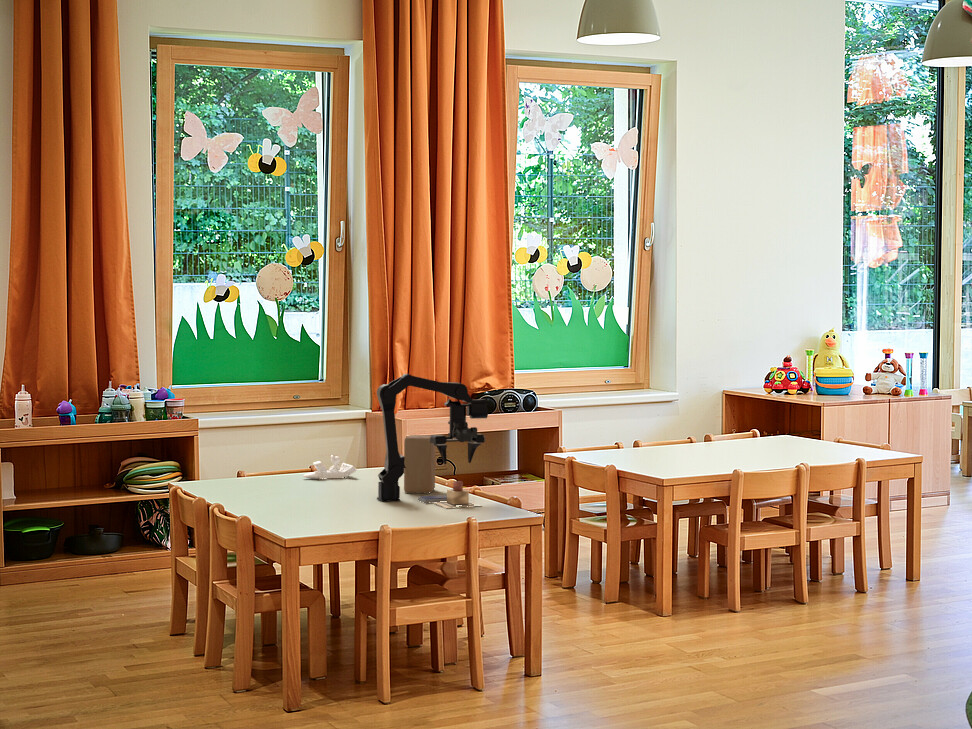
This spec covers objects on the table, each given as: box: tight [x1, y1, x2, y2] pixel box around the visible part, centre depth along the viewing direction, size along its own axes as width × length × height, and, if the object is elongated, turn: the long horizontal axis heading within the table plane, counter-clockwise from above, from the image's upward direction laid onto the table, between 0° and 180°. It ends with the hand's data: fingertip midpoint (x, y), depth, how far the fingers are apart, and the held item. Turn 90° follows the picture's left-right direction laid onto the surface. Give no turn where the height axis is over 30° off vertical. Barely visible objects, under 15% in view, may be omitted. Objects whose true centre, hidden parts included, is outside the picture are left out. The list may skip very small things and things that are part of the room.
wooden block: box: [403, 434, 436, 494], centre depth 411 cm, size 10×10×20 cm
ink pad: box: [417, 494, 447, 504], centre depth 390 cm, size 10×7×2 cm
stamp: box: [446, 480, 470, 506], centre depth 382 cm, size 6×6×8 cm
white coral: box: [302, 454, 357, 480], centre depth 442 cm, size 11×20×9 cm, turn 117°
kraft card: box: [434, 501, 475, 509], centre depth 382 cm, size 13×11×1 cm
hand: (457, 463), depth 397 cm, fingers open, 9 cm apart
